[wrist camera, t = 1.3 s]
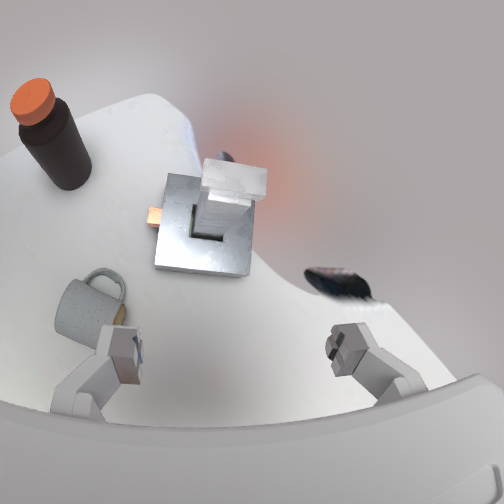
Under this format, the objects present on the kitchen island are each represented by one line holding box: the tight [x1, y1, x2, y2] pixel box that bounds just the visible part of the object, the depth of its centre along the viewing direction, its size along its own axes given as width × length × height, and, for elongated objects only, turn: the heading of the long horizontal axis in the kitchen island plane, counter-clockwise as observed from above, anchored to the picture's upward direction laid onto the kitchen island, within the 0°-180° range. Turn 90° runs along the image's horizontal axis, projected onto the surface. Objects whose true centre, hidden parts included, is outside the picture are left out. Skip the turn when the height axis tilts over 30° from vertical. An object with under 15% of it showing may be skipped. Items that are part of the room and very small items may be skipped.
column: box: [189, 158, 267, 241], centre depth 34 cm, size 5×4×21 cm
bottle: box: [10, 78, 92, 190], centre depth 30 cm, size 7×7×20 cm
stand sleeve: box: [147, 173, 255, 278], centre depth 41 cm, size 14×12×6 cm
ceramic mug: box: [55, 268, 126, 349], centre depth 35 cm, size 11×8×8 cm
